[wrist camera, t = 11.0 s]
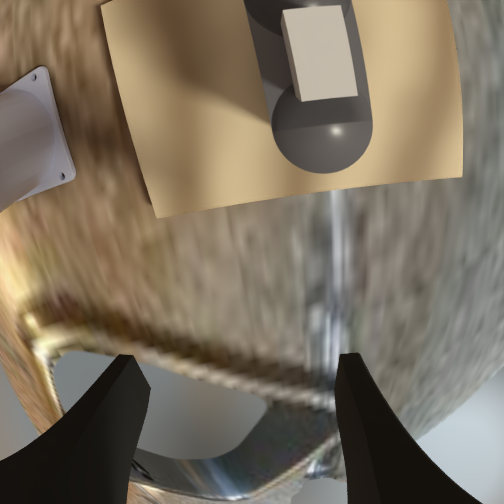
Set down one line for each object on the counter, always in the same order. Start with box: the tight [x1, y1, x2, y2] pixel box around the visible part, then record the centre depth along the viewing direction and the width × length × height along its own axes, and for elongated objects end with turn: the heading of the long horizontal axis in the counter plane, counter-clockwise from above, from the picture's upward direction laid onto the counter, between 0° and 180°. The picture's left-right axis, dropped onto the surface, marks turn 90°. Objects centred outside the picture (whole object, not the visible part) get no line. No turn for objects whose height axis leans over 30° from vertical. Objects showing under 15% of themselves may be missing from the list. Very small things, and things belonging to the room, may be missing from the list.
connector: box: [243, 0, 373, 174], centre depth 10 cm, size 3×8×8 cm, turn 11°
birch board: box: [101, 0, 463, 218], centre depth 14 cm, size 18×13×1 cm
